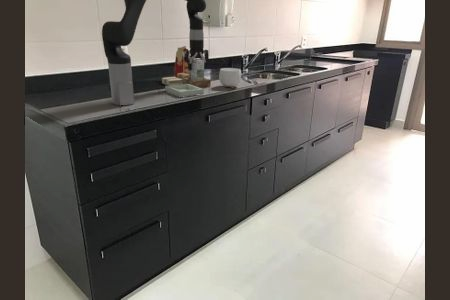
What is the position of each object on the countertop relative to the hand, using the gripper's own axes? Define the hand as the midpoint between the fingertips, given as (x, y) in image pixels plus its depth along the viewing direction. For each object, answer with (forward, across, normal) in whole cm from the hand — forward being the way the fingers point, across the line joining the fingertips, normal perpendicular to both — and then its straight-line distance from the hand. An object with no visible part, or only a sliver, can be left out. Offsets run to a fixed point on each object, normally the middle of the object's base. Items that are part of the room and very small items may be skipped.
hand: (196, 69), depth 174 cm
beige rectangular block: (+9, -9, +11) cm, 17 cm away
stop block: (+9, -2, +12) cm, 15 cm away
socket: (+9, 0, 0) cm, 9 cm away
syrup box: (+9, 0, 0) cm, 9 cm away
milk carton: (+9, +4, +22) cm, 24 cm away
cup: (+9, +15, -11) cm, 21 cm away
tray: (+9, -15, -12) cm, 21 cm away
